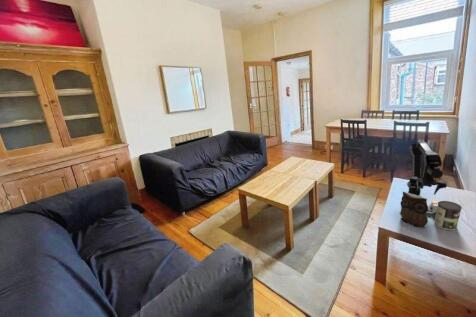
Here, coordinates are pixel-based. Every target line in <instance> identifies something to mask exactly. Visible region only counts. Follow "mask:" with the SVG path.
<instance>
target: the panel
mask: <svg viewBox="0 0 476 317" xmlns="http://www.w3.org/2000/svg"><path fill="white" fill-rule="evenodd" d="M430 207H431V203H430V204H429V205H428V212H426V213H427V217H428V216H429V217H431V218H432V217H433V218H435V217H436V212H435V213H433V211H432V209H433V208H430Z"/></svg>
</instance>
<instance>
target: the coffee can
mask: <svg viewBox="0 0 476 317" xmlns="http://www.w3.org/2000/svg"><path fill="white" fill-rule="evenodd" d="M437 202H438V204H437V205H438V207H437V212H436V217H434V222H433V223H434V225H435V226H437V228H441V229H442V230H445V231H456V230H457V228H458V224H459V219H460V217H461V216H460V215H461V211H462V206H461V205H460V204H458V203H455V202H454V201H449V200H440V201H437Z"/></svg>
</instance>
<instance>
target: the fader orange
mask: <svg viewBox="0 0 476 317" xmlns="http://www.w3.org/2000/svg"><path fill="white" fill-rule="evenodd" d="M438 202H439V201H435V200H431V203H430V205H431V207H430V208H433V205H434V204H436V205H438Z"/></svg>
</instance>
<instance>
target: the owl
mask: <svg viewBox="0 0 476 317" xmlns="http://www.w3.org/2000/svg"><path fill="white" fill-rule="evenodd" d="M400 207H401V208H400V212H399V215H400V216H401V218H400V221H402V222H403V223H404V222H405V224H408V225H409V224H410V225H409V226H412V225H413V226H412V227H414V228H422V229H425V227H426V225H427V224H428V223H429V219H428V218H429V217H428V215H427V213H426V212H428V207H429V205H428V198H425V197H423V196H421V195H419V196H417V195H415V194H411V193H408V192H405V191H403V192H402V197H401V201H400Z"/></svg>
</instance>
